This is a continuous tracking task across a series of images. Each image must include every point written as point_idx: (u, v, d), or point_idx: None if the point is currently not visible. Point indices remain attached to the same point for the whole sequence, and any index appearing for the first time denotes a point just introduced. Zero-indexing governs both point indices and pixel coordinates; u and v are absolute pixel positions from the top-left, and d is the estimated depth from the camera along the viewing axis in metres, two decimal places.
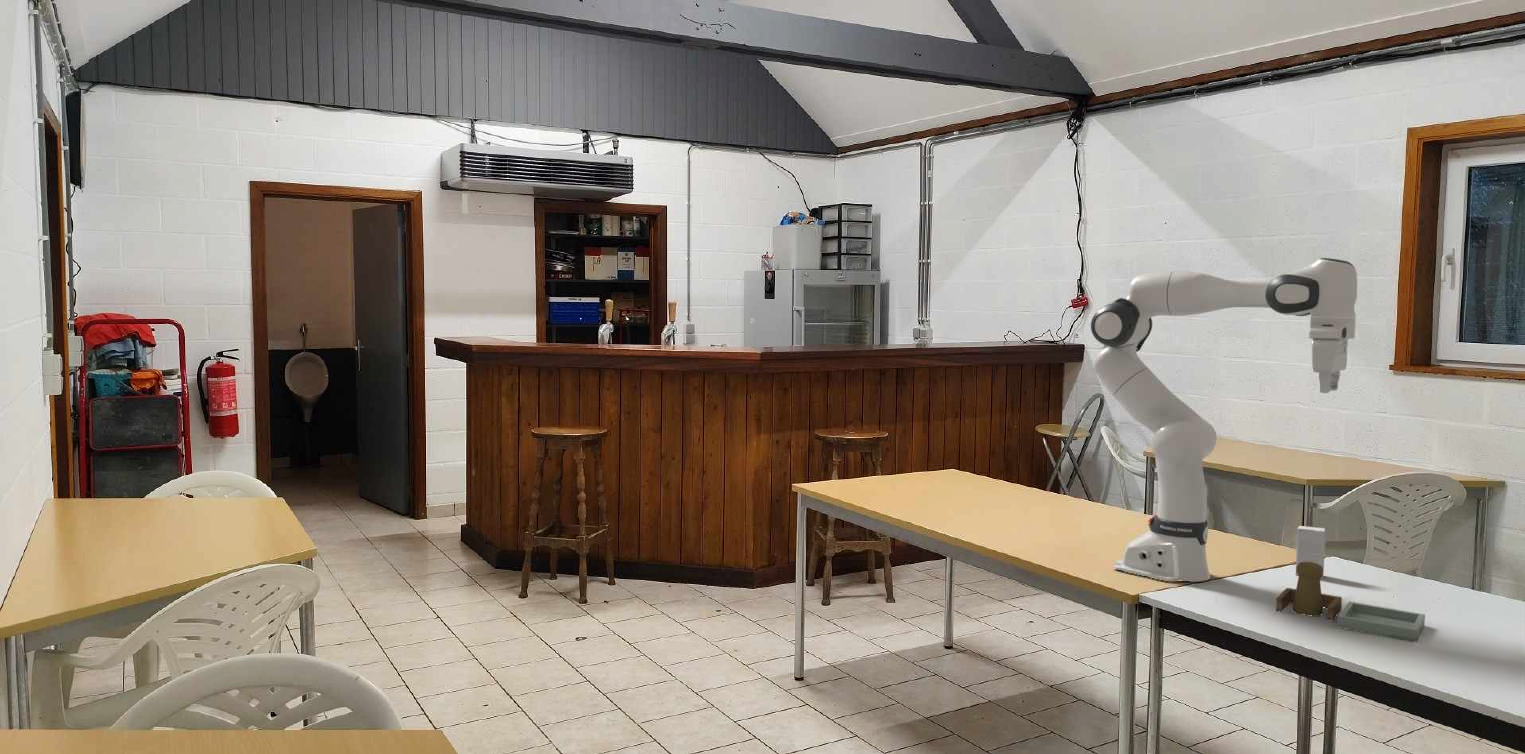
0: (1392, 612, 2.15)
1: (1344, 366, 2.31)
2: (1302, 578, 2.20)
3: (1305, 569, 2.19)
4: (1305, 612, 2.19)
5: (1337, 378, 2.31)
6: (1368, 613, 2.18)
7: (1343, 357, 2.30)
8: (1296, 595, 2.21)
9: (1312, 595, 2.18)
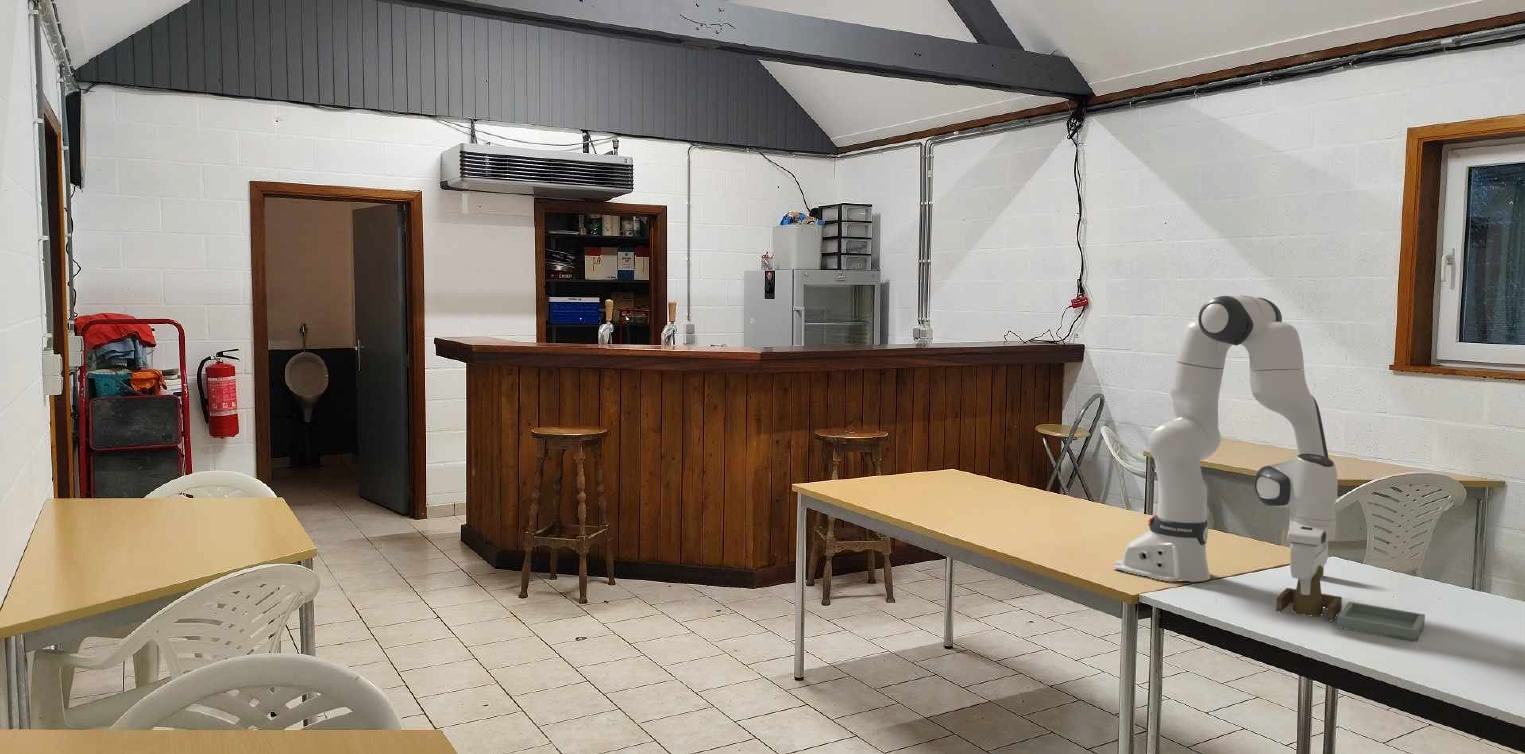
0: (1392, 612, 2.15)
1: (1324, 562, 2.24)
2: None
3: None
4: (1305, 612, 2.19)
5: None
6: (1368, 613, 2.18)
7: (1323, 554, 2.23)
8: (1296, 595, 2.21)
9: (1312, 595, 2.18)
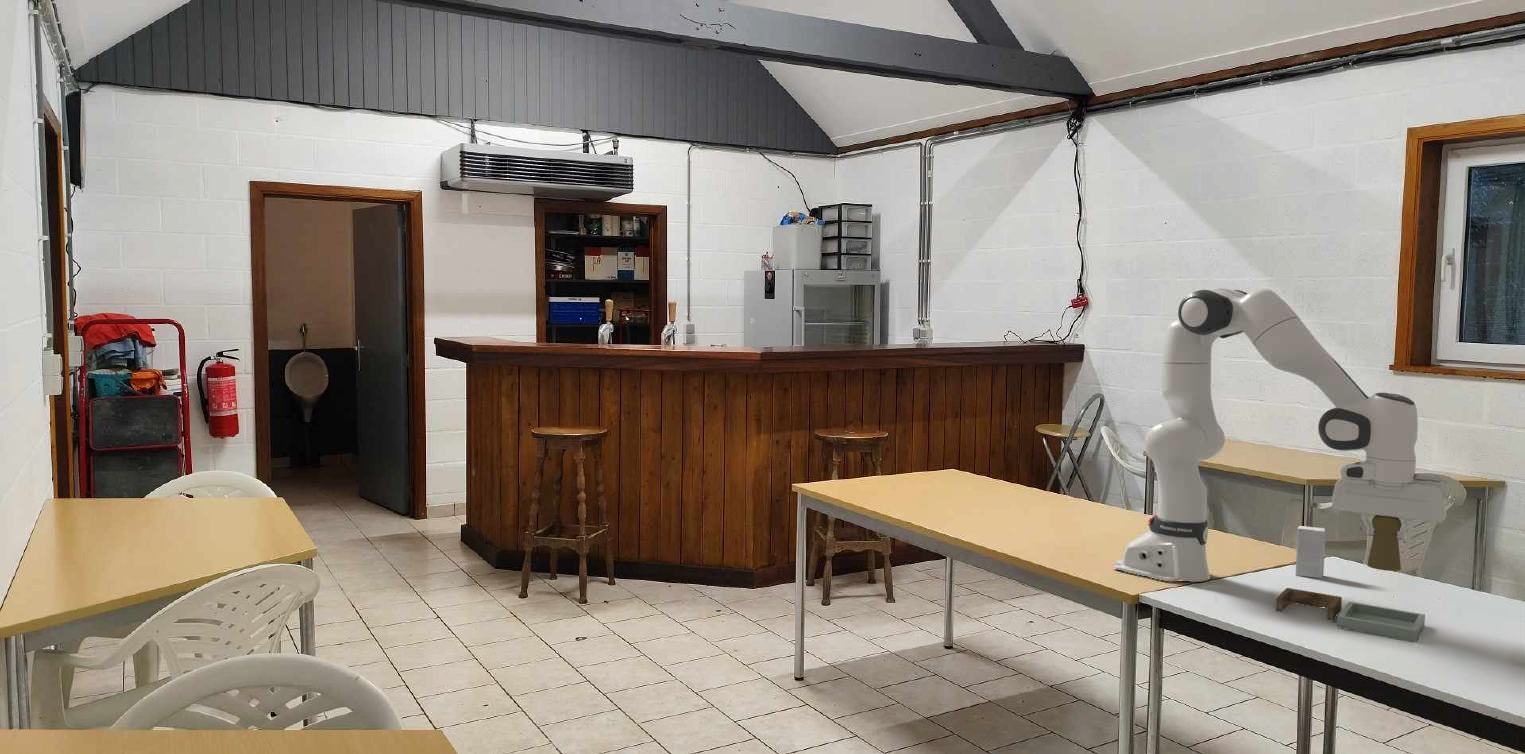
0: (1392, 612, 2.15)
1: (1423, 517, 2.04)
2: None
3: None
4: (1368, 562, 2.12)
5: None
6: (1368, 613, 2.18)
7: (1414, 505, 2.05)
8: None
9: (1372, 545, 2.11)
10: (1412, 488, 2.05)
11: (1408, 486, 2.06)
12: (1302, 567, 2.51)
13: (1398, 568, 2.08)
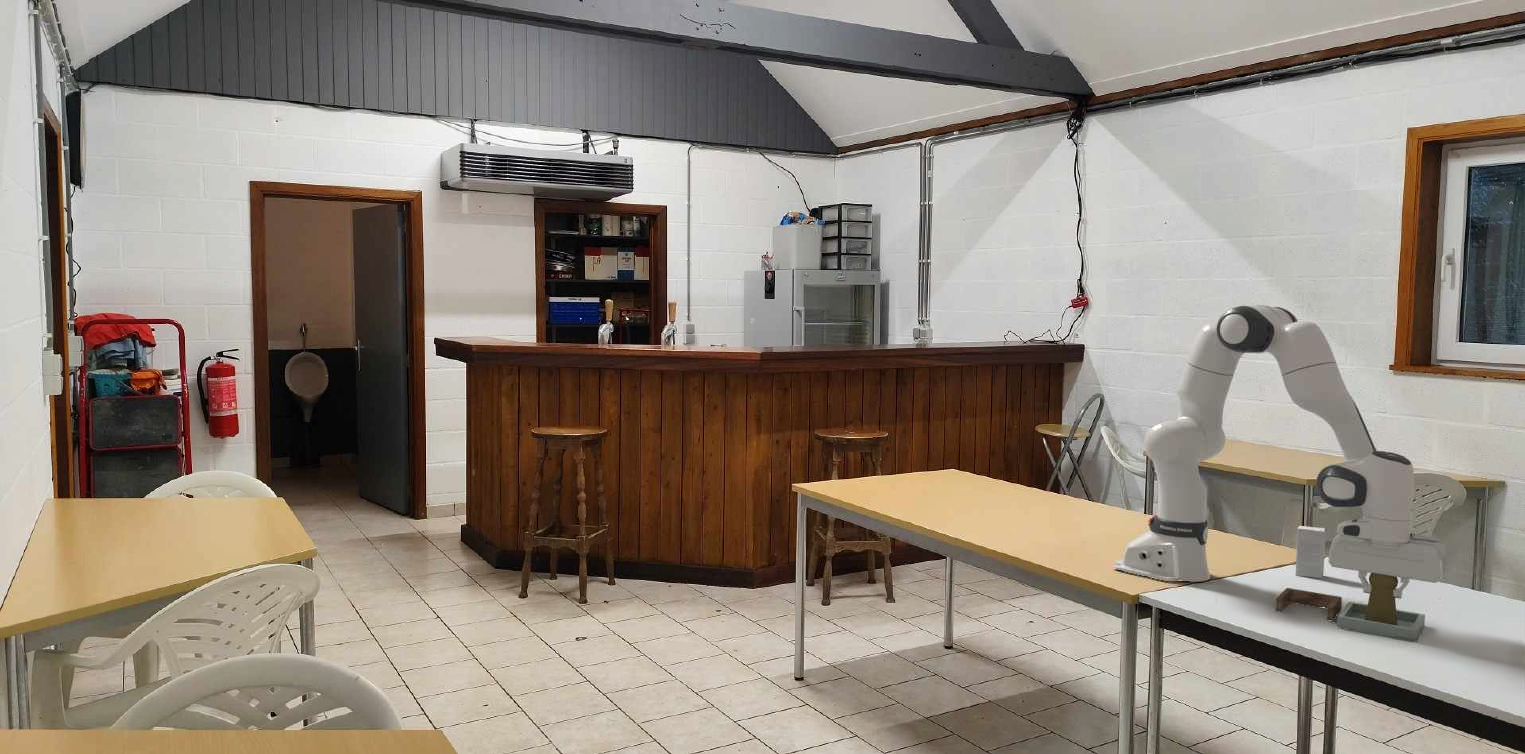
0: None
1: (1419, 576, 2.05)
2: None
3: None
4: None
5: (1401, 586, 2.08)
6: None
7: (1410, 565, 2.06)
8: None
9: (1369, 601, 2.12)
10: (1408, 548, 2.06)
11: (1404, 545, 2.07)
12: (1302, 567, 2.51)
13: None
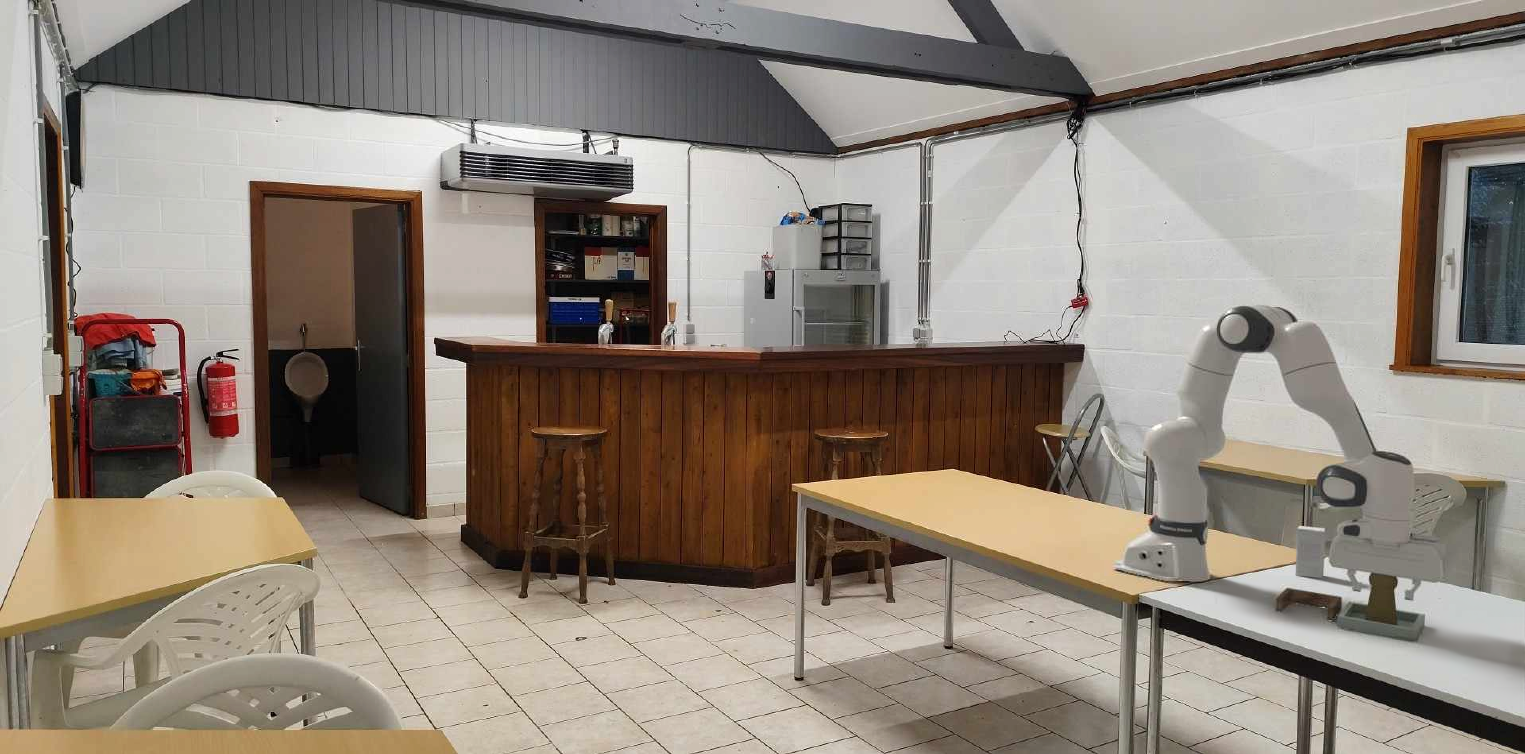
0: None
1: (1420, 576, 2.05)
2: None
3: None
4: None
5: None
6: None
7: (1410, 564, 2.06)
8: None
9: (1369, 601, 2.12)
10: (1408, 548, 2.06)
11: (1405, 545, 2.07)
12: (1302, 567, 2.51)
13: None
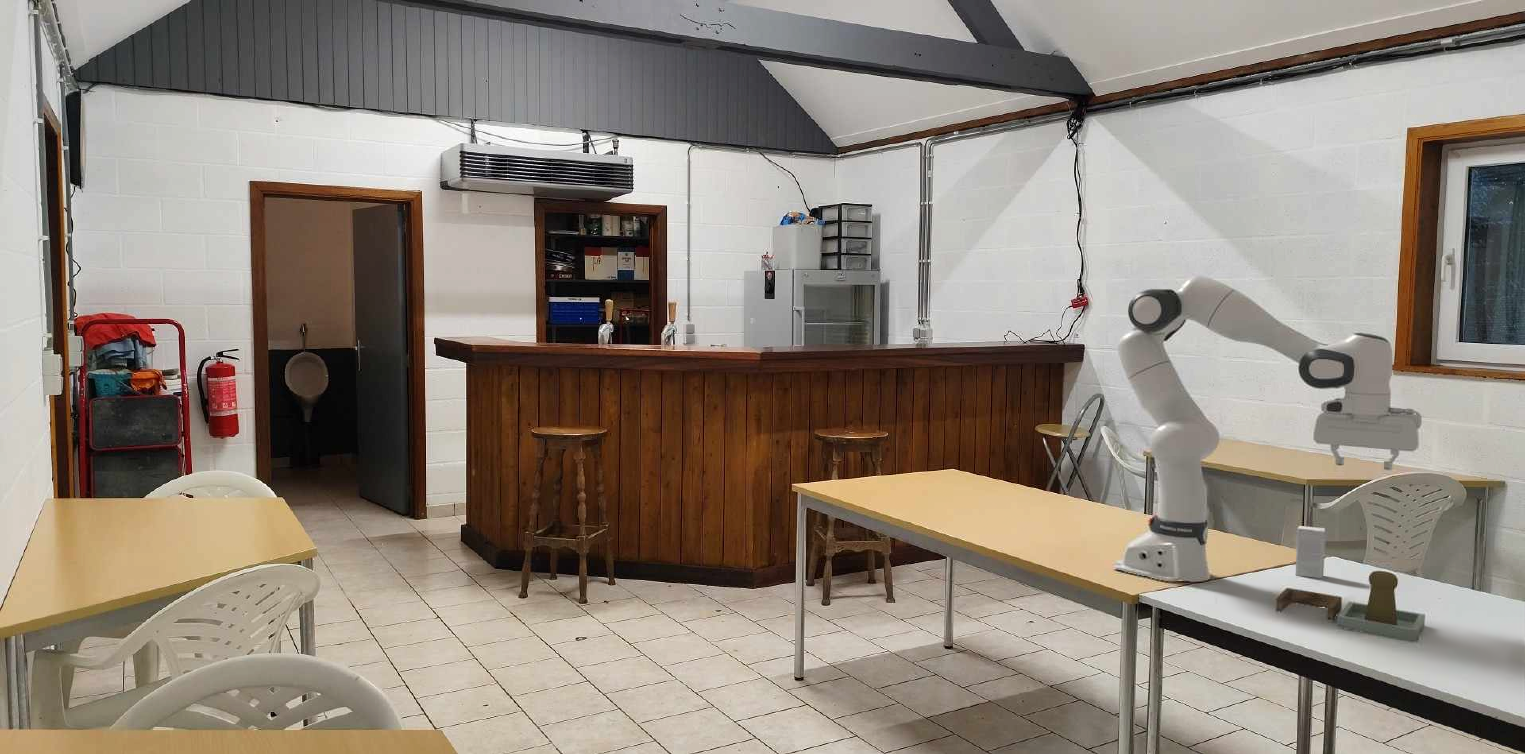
0: None
1: (1397, 446, 2.20)
2: None
3: None
4: None
5: None
6: None
7: (1389, 436, 2.21)
8: None
9: (1369, 601, 2.12)
10: (1387, 420, 2.21)
11: (1383, 418, 2.22)
12: (1302, 567, 2.51)
13: None
